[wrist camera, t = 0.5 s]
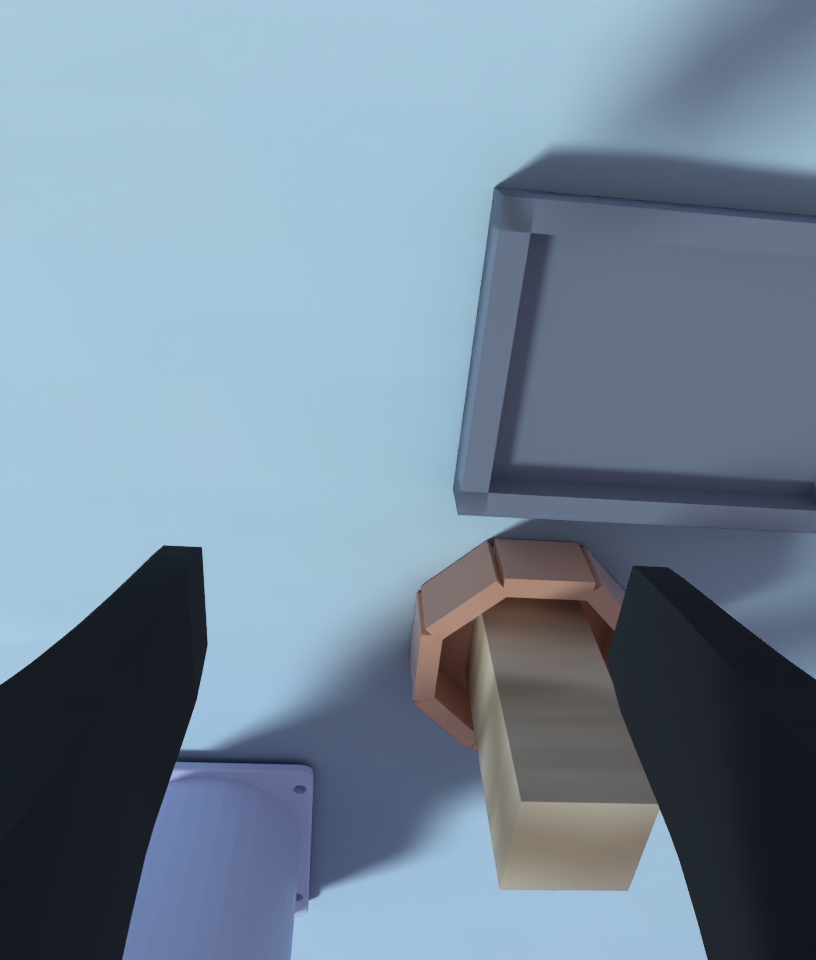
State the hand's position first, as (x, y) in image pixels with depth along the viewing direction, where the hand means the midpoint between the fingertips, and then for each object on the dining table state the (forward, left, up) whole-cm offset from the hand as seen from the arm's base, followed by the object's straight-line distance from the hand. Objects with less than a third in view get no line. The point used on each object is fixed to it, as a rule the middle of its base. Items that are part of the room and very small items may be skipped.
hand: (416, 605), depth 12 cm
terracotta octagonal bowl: (-9, -5, -10) cm, 15 cm away
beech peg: (-9, -5, -10) cm, 14 cm away
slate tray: (+1, -8, -10) cm, 13 cm away
